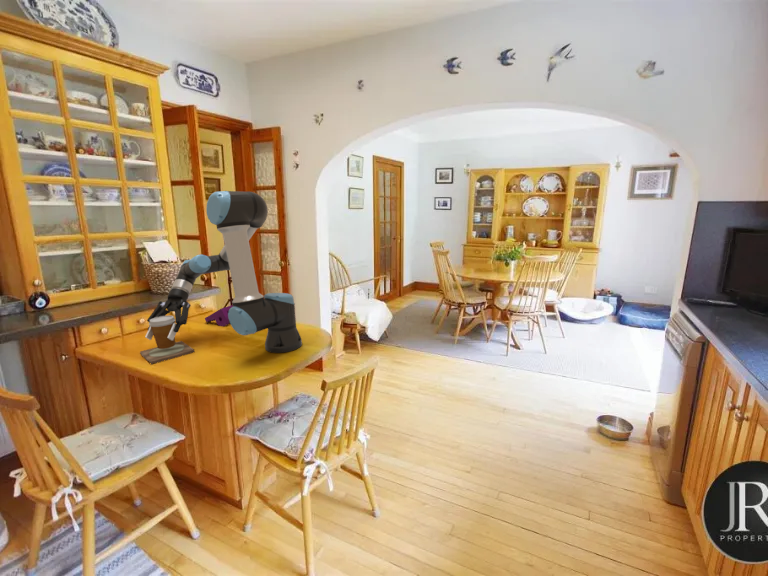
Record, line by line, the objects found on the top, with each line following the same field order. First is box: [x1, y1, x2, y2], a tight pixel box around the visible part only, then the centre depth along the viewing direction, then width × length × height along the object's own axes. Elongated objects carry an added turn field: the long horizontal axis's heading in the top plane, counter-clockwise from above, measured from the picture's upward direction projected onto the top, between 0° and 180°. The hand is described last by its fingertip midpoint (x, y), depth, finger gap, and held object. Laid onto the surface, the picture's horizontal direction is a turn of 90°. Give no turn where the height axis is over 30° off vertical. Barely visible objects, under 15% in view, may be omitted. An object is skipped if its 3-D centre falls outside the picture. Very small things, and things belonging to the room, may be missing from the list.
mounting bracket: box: [204, 304, 233, 327], centre depth 195 cm, size 10×8×18 cm
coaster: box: [139, 340, 195, 365], centre depth 154 cm, size 16×16×1 cm
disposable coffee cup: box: [148, 315, 176, 349], centre depth 152 cm, size 10×10×12 cm
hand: (159, 338), depth 150 cm, fingers closed on disposable coffee cup, 9 cm apart
